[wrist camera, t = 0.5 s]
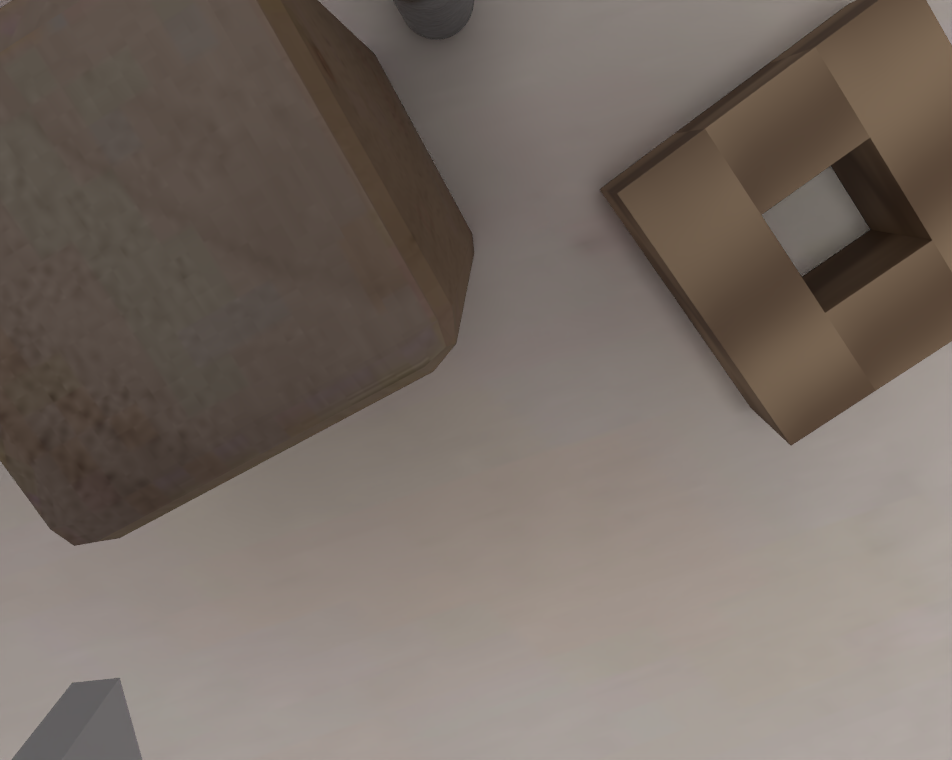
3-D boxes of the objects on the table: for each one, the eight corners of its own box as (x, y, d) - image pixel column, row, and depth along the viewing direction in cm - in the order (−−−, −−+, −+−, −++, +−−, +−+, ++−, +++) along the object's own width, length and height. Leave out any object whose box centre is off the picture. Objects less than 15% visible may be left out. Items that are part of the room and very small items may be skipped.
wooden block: (365, 34, 33) (187, -149, 14) (483, 252, 35) (474, 359, 16) (162, 157, 34) (-260, 148, 15) (287, 360, 37) (60, 579, 17)
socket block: (599, 189, 34) (617, 193, 30) (849, 3, 32) (911, -25, 28) (751, 408, 37) (790, 445, 32) (993, 247, 35) (1074, 261, 30)
